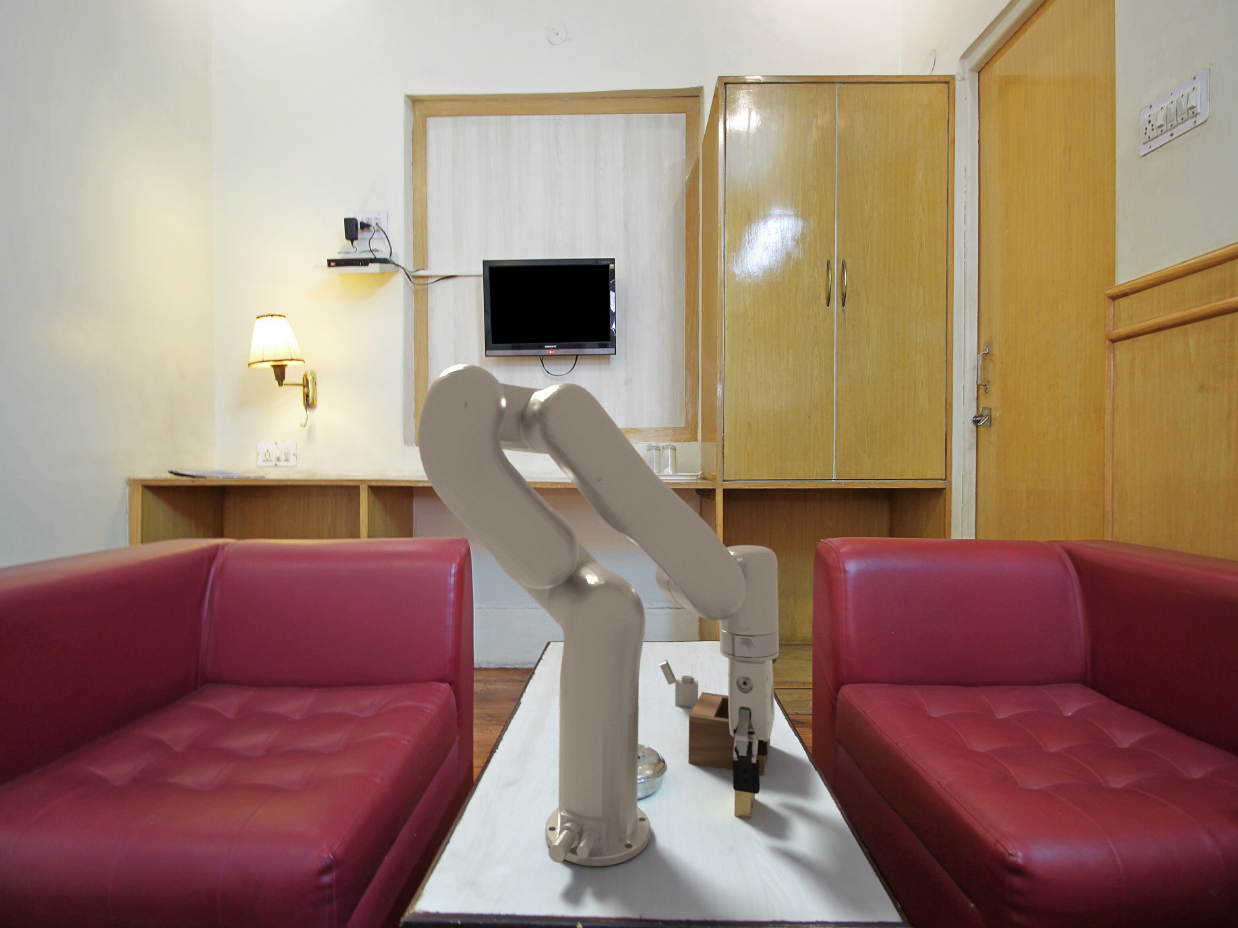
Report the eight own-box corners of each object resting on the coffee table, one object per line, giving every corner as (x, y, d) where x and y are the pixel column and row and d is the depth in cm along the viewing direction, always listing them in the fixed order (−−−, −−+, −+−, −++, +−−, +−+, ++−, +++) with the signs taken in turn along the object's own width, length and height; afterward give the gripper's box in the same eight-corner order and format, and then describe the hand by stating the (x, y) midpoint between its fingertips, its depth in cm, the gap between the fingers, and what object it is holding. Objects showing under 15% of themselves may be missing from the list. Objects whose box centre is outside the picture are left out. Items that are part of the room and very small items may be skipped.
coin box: (763, 775, 89) (764, 727, 89) (688, 762, 92) (689, 715, 92) (770, 745, 98) (770, 701, 98) (701, 734, 102) (702, 692, 102)
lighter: (698, 703, 115) (698, 660, 115) (697, 707, 113) (698, 663, 113) (659, 701, 116) (660, 658, 116) (659, 704, 114) (659, 661, 114)
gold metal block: (750, 819, 78) (750, 780, 78) (734, 816, 79) (734, 777, 79) (755, 798, 83) (755, 761, 83) (739, 796, 83) (740, 759, 83)
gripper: (772, 666, 71) (775, 813, 72) (783, 625, 88) (785, 745, 88) (708, 660, 74) (710, 802, 74) (730, 621, 90) (732, 738, 90)
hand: (751, 771), depth 81 cm, fingers open, 9 cm apart
